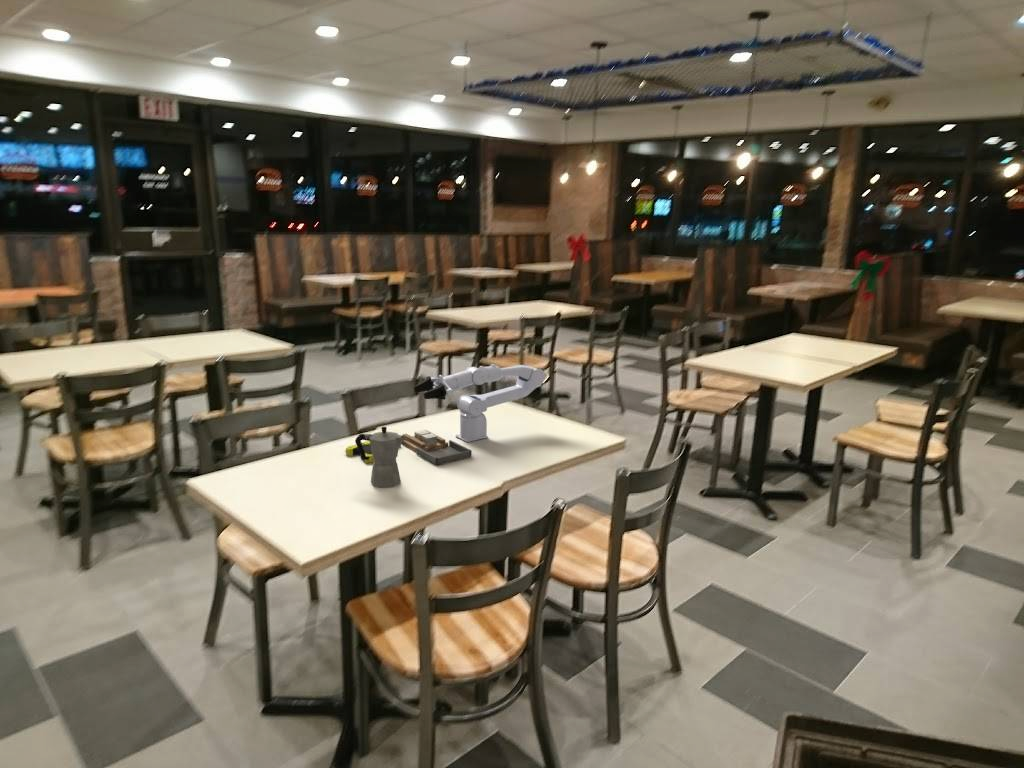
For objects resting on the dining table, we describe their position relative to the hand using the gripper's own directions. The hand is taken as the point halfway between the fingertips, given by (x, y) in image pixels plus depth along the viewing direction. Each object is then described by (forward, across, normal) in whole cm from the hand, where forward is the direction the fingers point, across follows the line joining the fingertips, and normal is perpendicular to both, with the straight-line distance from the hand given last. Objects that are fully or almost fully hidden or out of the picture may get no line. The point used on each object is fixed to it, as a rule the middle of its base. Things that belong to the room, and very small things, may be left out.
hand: (419, 392), depth 232 cm
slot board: (+1, 0, +20) cm, 20 cm away
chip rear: (+1, -1, +19) cm, 19 cm away
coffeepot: (+27, +25, +14) cm, 39 cm away
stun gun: (+18, -1, +18) cm, 26 cm away
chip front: (+1, +4, +18) cm, 19 cm away
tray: (0, +14, +19) cm, 24 cm away
